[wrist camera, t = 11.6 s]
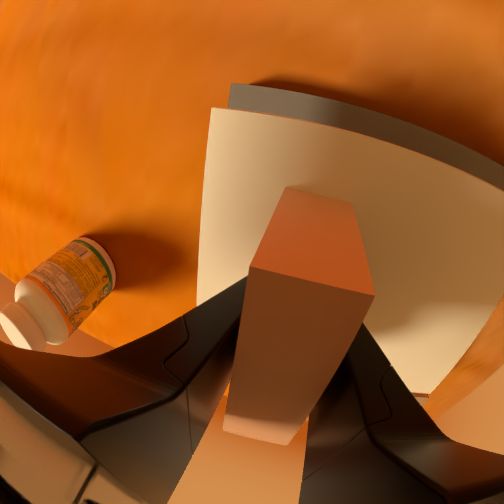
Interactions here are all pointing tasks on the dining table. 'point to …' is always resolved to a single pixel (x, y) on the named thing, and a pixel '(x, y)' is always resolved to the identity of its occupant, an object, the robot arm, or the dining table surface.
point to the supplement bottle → (58, 295)
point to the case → (366, 126)
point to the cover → (339, 259)
